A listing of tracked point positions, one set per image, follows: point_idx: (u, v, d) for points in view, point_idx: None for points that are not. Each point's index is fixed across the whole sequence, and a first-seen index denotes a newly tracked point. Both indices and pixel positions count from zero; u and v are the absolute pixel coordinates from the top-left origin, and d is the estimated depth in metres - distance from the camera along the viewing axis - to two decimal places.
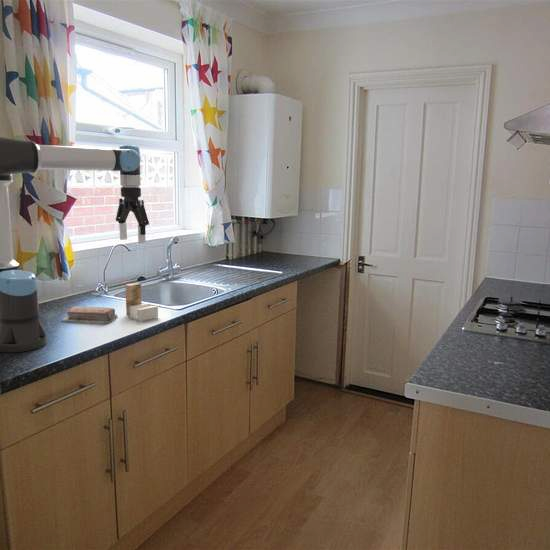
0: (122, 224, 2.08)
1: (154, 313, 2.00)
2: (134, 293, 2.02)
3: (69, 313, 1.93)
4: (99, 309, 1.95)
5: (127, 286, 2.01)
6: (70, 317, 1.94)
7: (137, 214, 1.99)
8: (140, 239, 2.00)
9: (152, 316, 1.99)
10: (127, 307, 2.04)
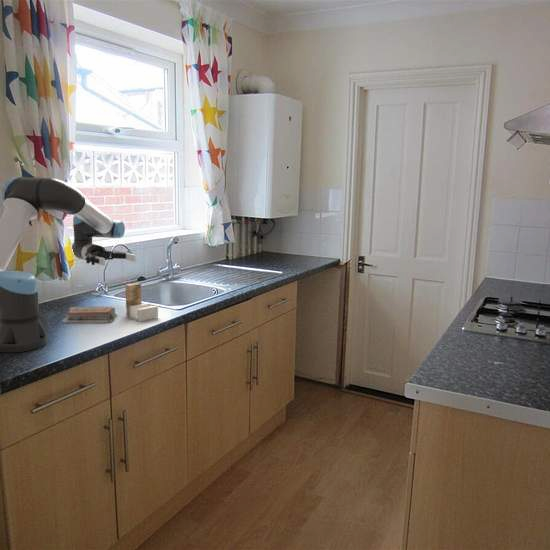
0: None
1: (154, 313, 2.00)
2: (134, 293, 2.02)
3: (70, 314, 1.92)
4: (100, 308, 1.96)
5: (127, 286, 2.01)
6: (71, 318, 1.93)
7: None
8: None
9: (152, 316, 1.99)
10: (127, 307, 2.04)
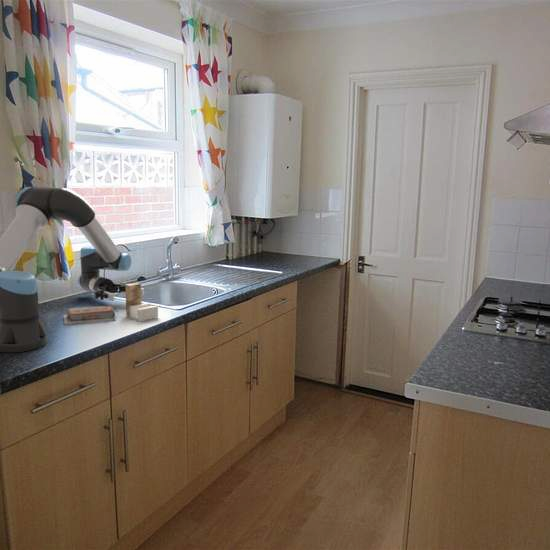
0: None
1: (154, 313, 2.00)
2: (134, 293, 2.02)
3: (72, 315, 1.91)
4: (100, 308, 1.98)
5: (127, 286, 2.01)
6: (73, 319, 1.91)
7: None
8: None
9: (152, 316, 1.99)
10: (126, 307, 2.04)
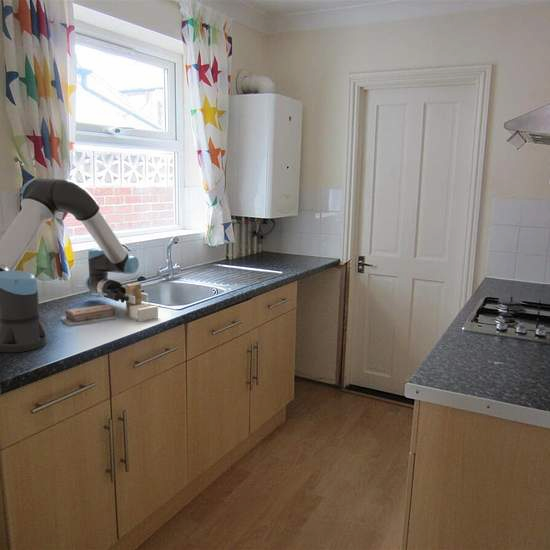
0: None
1: (154, 313, 2.00)
2: (134, 293, 2.02)
3: (75, 316, 1.90)
4: (99, 307, 1.99)
5: (127, 286, 2.01)
6: (76, 320, 1.90)
7: None
8: None
9: (152, 316, 1.99)
10: (127, 307, 2.04)
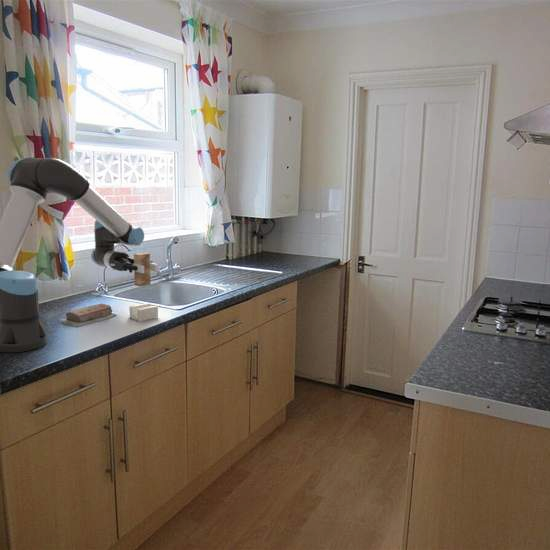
0: None
1: (154, 313, 2.00)
2: (142, 263, 1.95)
3: (81, 316, 1.89)
4: (97, 306, 1.99)
5: (136, 255, 1.94)
6: (82, 320, 1.90)
7: None
8: None
9: (152, 316, 1.99)
10: (135, 278, 1.97)
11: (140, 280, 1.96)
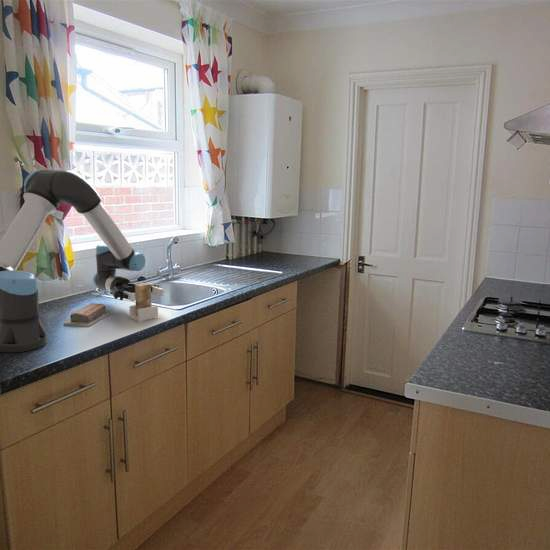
0: None
1: (154, 313, 2.00)
2: (143, 294, 1.97)
3: (89, 316, 1.90)
4: (93, 306, 2.00)
5: (137, 286, 1.96)
6: (89, 320, 1.91)
7: None
8: None
9: (152, 316, 1.99)
10: (136, 308, 1.99)
11: None
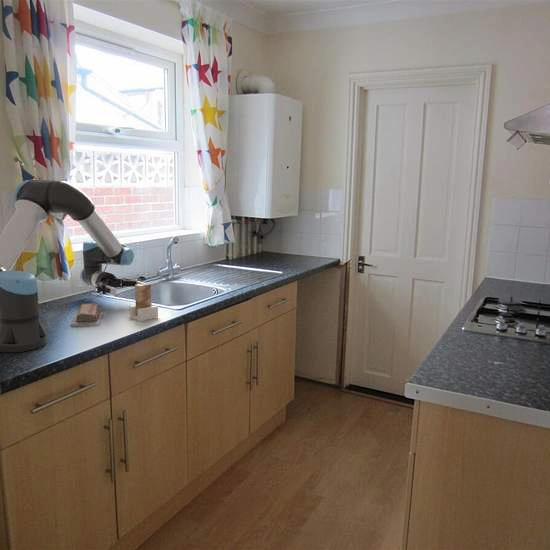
0: None
1: (154, 313, 2.00)
2: (143, 294, 1.97)
3: (96, 315, 1.91)
4: (89, 306, 2.00)
5: (137, 286, 1.96)
6: (96, 319, 1.92)
7: None
8: None
9: (152, 316, 1.99)
10: (136, 308, 1.99)
11: None
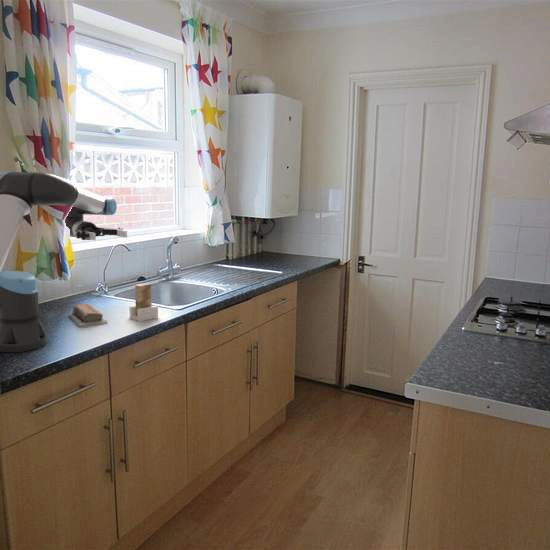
0: None
1: (154, 313, 2.00)
2: (143, 294, 1.97)
3: (101, 314, 1.93)
4: (84, 306, 1.99)
5: (137, 286, 1.96)
6: None
7: None
8: None
9: (152, 316, 1.99)
10: (136, 308, 1.99)
11: None
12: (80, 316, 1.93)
